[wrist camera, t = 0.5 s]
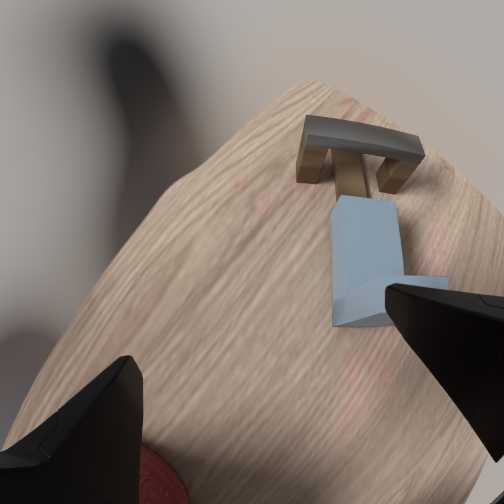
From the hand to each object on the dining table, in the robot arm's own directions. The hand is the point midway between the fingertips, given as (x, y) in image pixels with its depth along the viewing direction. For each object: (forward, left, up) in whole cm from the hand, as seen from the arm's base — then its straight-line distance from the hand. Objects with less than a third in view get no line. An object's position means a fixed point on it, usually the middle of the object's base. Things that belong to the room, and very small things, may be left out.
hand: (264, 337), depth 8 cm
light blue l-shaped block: (-4, -10, -13) cm, 17 cm away
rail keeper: (-1, -15, -14) cm, 20 cm away
